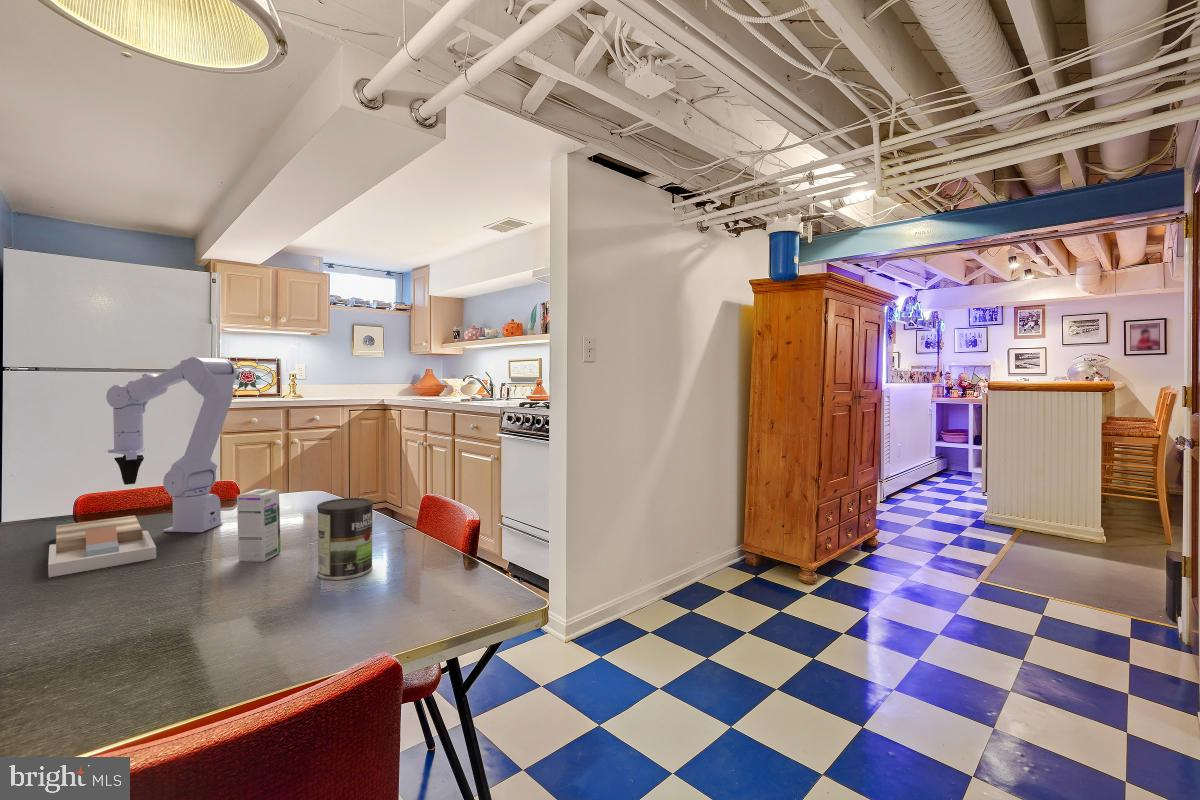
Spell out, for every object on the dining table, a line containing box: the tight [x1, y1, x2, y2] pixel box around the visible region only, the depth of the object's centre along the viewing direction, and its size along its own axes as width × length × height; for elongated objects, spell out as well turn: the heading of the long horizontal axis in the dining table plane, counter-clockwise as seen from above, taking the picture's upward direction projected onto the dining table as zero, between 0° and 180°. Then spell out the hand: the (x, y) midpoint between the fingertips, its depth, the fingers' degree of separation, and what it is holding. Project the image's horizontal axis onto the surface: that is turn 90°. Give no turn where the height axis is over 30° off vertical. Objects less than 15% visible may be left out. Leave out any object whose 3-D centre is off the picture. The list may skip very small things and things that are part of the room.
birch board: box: [55, 515, 143, 553], centre depth 125 cm, size 16×14×3 cm
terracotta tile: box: [85, 526, 118, 545], centre depth 117 cm, size 5×5×2 cm
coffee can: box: [316, 497, 374, 581], centre depth 109 cm, size 10×10×14 cm
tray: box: [47, 530, 157, 578], centre depth 113 cm, size 16×16×2 cm
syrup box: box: [236, 488, 282, 563], centre depth 115 cm, size 6×6×14 cm
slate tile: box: [86, 541, 119, 557], centre depth 113 cm, size 5×5×2 cm
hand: (129, 483), depth 138 cm, fingers closed
